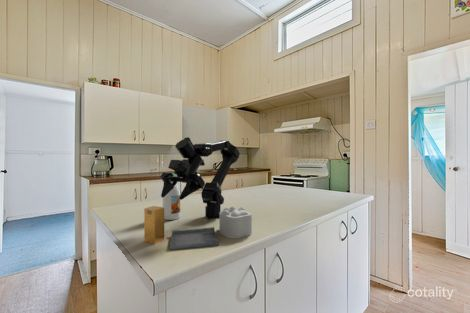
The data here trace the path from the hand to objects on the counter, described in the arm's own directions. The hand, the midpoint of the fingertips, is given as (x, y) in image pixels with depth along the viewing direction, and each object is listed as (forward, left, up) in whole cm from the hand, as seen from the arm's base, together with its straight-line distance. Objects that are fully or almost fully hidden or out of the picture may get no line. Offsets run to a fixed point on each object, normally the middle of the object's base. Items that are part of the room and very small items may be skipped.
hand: (170, 197), depth 81 cm
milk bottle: (+1, -22, -13) cm, 25 cm away
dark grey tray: (-8, +8, -13) cm, 18 cm away
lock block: (+5, +5, -13) cm, 15 cm away
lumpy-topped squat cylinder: (-23, +3, -13) cm, 27 cm away
